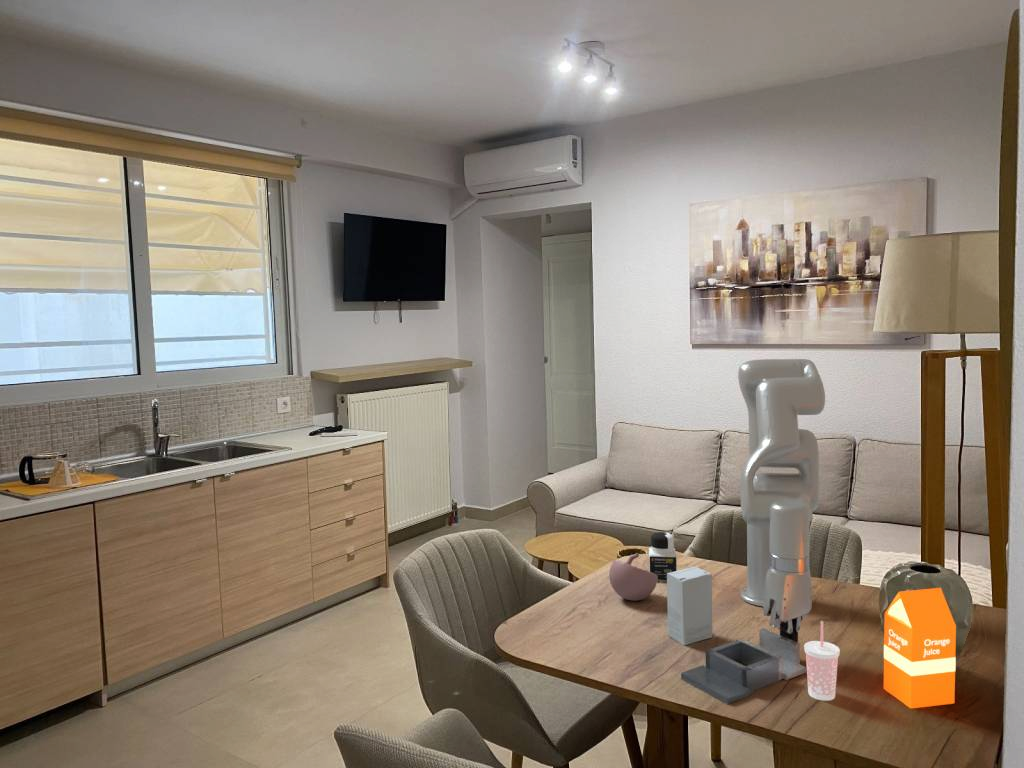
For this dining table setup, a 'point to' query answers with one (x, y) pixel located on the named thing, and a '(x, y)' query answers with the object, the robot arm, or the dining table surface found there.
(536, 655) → the dining table surface
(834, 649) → the beverage cup
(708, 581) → the skincare box
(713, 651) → the fixed leaf
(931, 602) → the orange juice
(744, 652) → the gray u-channel trough
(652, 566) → the medicine bottle
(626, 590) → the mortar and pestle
